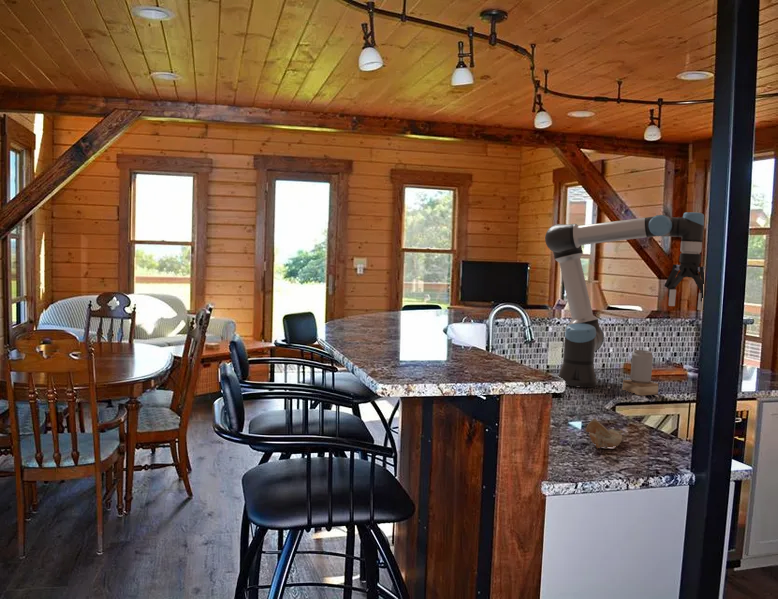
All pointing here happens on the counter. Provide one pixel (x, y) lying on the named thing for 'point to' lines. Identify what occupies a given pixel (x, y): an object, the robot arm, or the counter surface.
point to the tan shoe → (603, 435)
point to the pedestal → (640, 387)
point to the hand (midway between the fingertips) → (685, 308)
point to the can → (641, 366)
